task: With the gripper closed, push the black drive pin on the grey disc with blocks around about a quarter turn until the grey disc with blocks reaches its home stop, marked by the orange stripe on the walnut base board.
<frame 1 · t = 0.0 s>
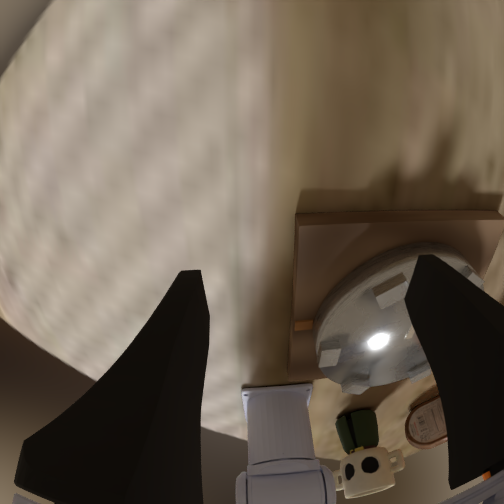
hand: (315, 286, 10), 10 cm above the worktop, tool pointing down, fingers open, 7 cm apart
base board: (391, 301, 25), on the worktop
tin: (438, 395, 40), on the worktop
grey disc with blocks: (413, 349, 21), point 5 cm above the worktop, hinge at 0.0°
character mug: (354, 414, 40), on the worktop
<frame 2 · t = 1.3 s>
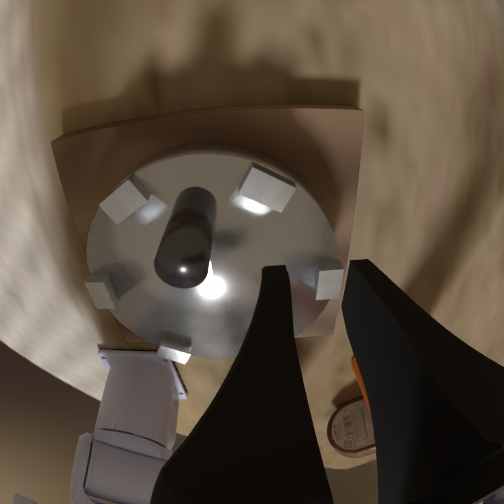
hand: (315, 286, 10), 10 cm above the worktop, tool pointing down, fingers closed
base board: (213, 242, 21), on the worktop
tin: (373, 392, 37), on the worktop
grey disc with blocks: (207, 298, 17), point 5 cm above the worktop, hinge at 0.0°
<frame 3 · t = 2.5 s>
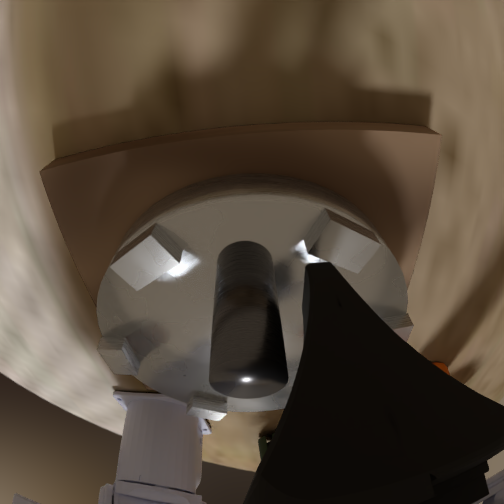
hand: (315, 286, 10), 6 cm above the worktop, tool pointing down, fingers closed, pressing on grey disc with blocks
base board: (251, 287, 17), on the worktop
grey disc with blocks: (255, 368, 13), point 5 cm above the worktop, hinge at 0.0°, touching gripper
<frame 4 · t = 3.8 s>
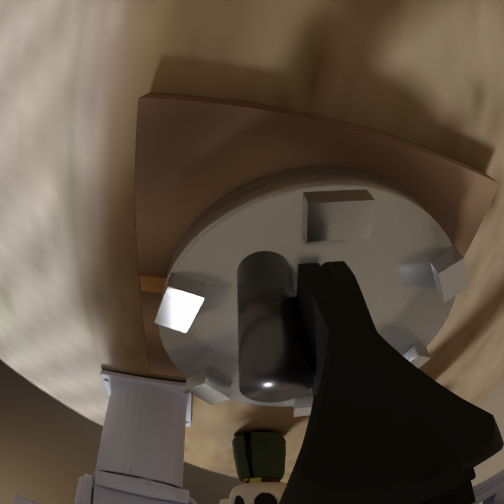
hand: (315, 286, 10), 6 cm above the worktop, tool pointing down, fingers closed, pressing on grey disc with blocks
base board: (305, 280, 17), on the worktop
grey disc with blocks: (325, 357, 13), point 5 cm above the worktop, hinge at 43.8°, touching gripper
character mug: (258, 434, 32), on the worktop
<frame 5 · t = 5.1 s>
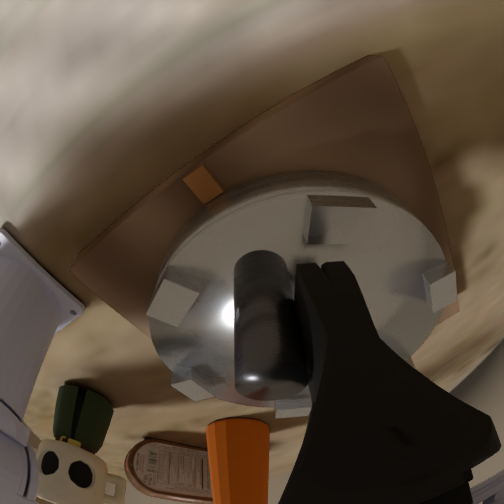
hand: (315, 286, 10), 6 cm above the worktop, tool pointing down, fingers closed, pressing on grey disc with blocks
base board: (295, 282, 18), on the worktop
tin: (184, 444, 35), on the worktop
spray bottle: (244, 421, 30), on the worktop
grey disc with blocks: (313, 360, 13), point 5 cm above the worktop, hinge at 85.0°, touching gripper
character mug: (87, 394, 26), on the worktop
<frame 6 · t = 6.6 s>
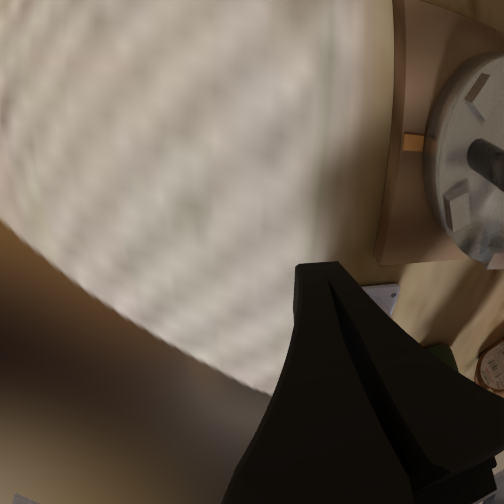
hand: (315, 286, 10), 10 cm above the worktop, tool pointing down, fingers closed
base board: (488, 147, 17), on the worktop
character mug: (426, 356, 31), on the worktop
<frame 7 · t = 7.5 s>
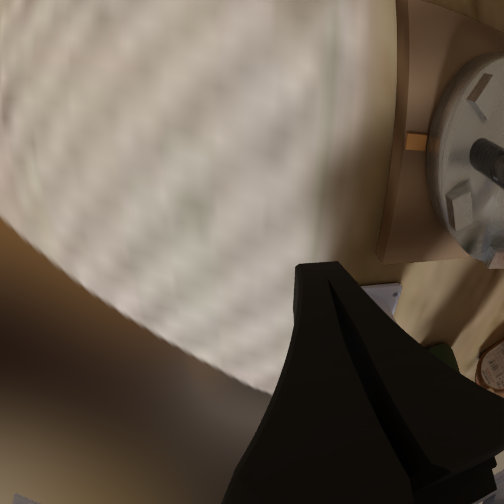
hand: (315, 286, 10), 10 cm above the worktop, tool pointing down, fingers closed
base board: (490, 147, 17), on the worktop
character mug: (427, 355, 31), on the worktop
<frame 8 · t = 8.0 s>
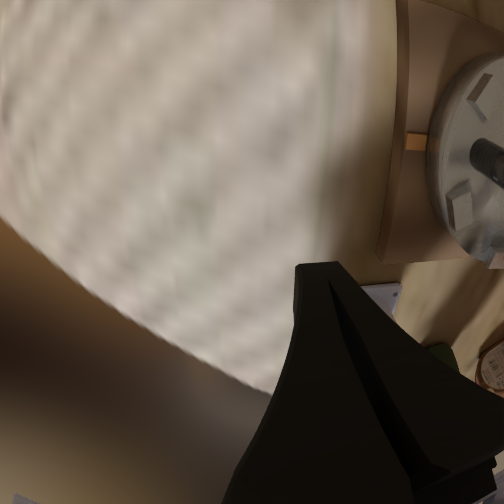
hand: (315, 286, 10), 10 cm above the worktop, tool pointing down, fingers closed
base board: (490, 147, 17), on the worktop
character mug: (427, 355, 31), on the worktop
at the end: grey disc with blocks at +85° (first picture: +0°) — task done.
